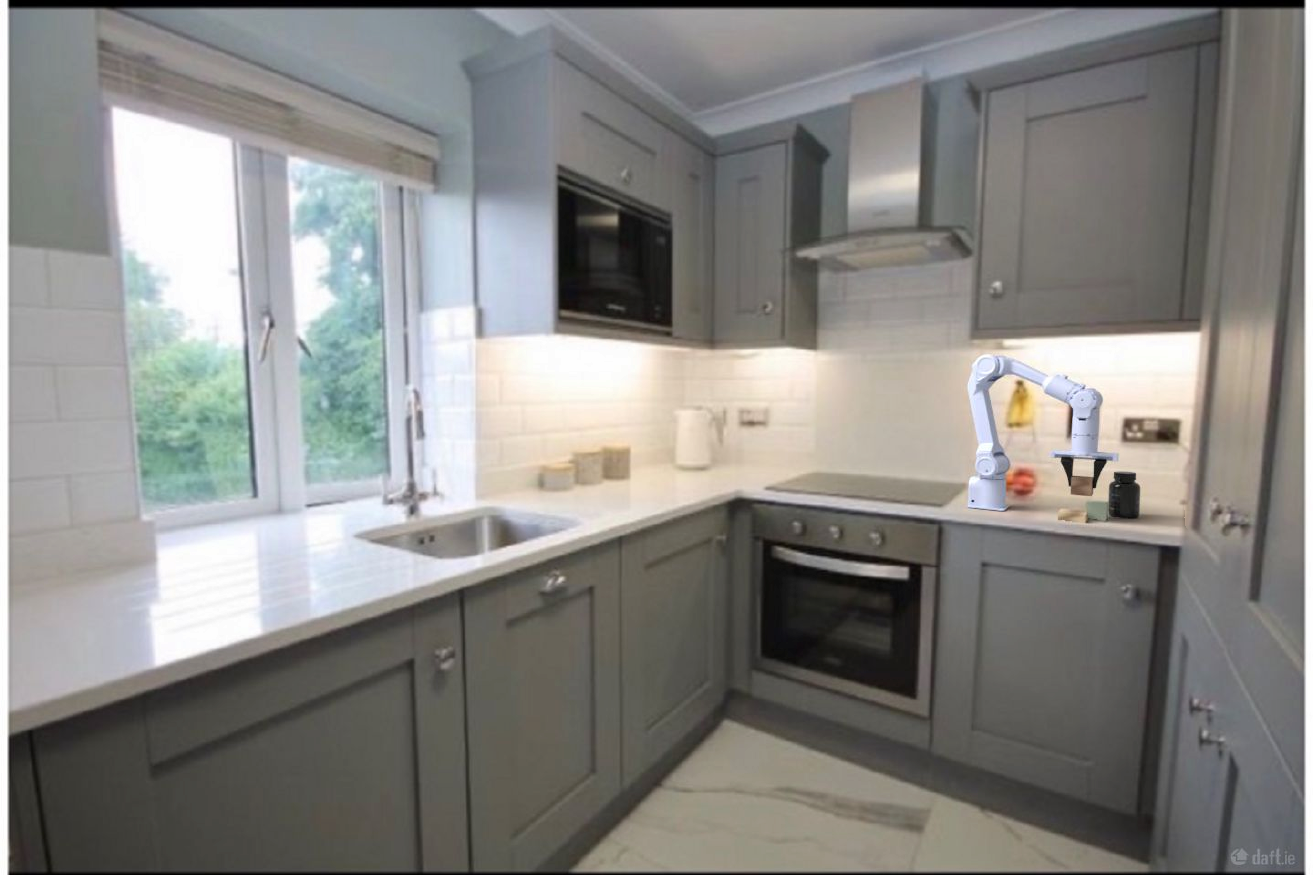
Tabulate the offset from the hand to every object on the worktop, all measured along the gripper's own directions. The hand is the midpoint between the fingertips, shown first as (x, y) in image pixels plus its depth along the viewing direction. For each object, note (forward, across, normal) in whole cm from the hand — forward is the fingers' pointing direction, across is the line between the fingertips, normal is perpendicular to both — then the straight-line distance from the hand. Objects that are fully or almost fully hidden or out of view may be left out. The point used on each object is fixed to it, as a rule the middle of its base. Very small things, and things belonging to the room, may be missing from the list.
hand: (1082, 486), depth 164 cm
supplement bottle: (+9, +8, +12) cm, 18 cm away
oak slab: (+9, -2, 0) cm, 9 cm away
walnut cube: (+2, 0, 0) cm, 2 cm away
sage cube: (+9, +3, +6) cm, 11 cm away
